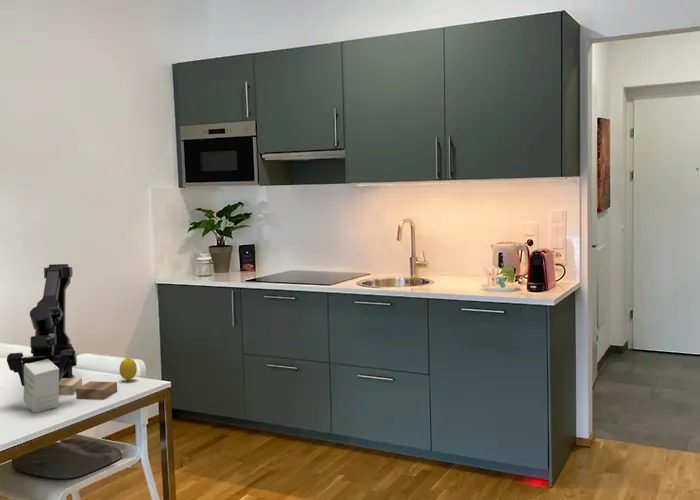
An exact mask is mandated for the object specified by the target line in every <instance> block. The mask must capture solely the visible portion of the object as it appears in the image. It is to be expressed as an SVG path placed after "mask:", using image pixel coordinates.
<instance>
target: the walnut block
mask: <svg viewBox="0 0 700 500" xmlns="http://www.w3.org/2000/svg"><path fill="white" fill-rule="evenodd" d="M117 392H118V382H117V381H96V380H95V381H88V382H86V383H84V384H82V386H81V387H79V388H77V389H76V392H75V393H76V394H75V399H76V398H80V400H106V399H107V398H109V397H110V396H112V395H113V394H115V393H117Z"/></svg>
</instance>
